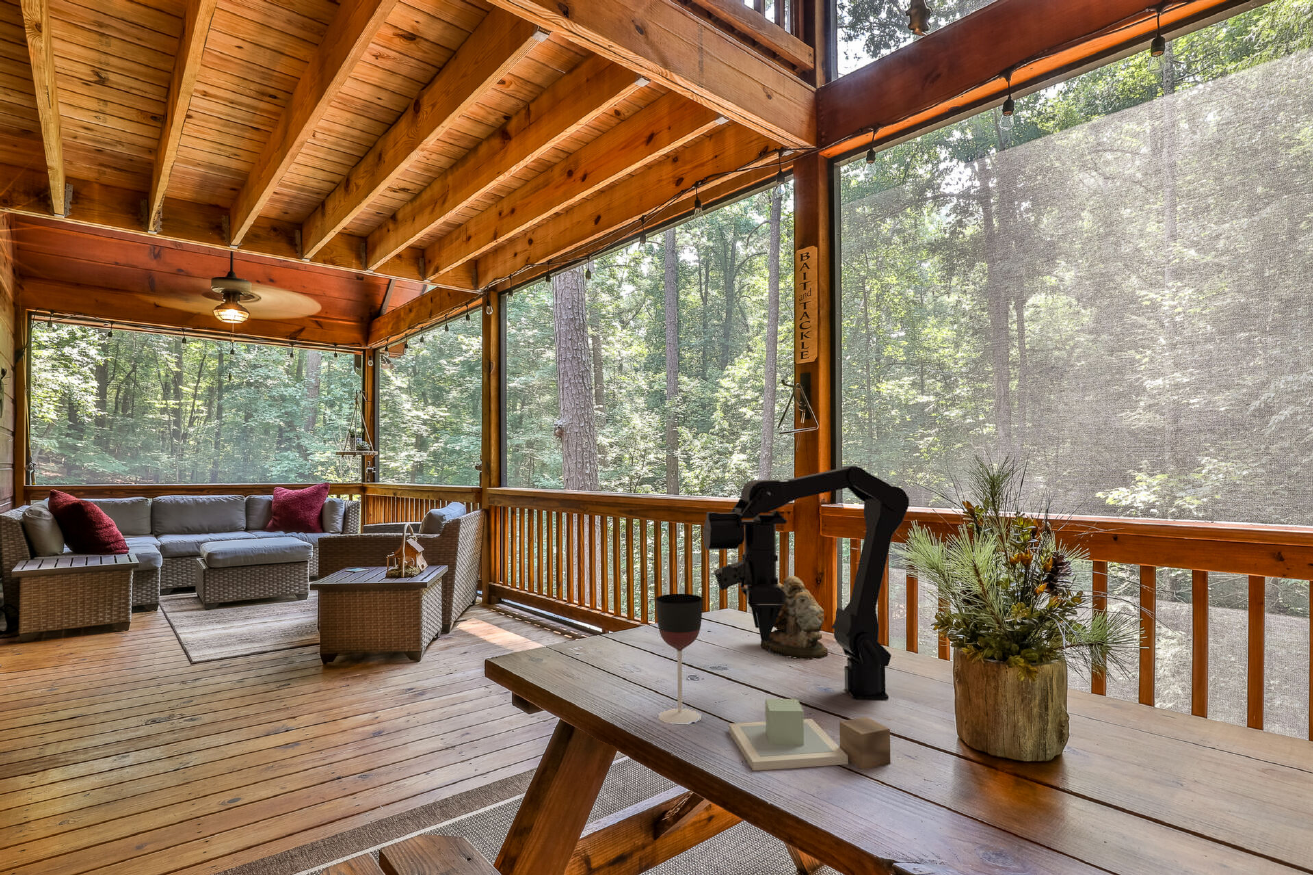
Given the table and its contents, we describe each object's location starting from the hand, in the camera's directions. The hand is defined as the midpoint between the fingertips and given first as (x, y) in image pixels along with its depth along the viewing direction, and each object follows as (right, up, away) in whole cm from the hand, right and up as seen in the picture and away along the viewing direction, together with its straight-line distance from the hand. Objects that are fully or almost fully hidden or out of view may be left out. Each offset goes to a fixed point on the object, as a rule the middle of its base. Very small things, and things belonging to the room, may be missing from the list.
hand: (761, 634), depth 121 cm
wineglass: (-15, -12, -8) cm, 21 cm away
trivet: (0, -11, -21) cm, 23 cm away
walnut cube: (+11, -11, -25) cm, 29 cm away
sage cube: (0, -10, -20) cm, 23 cm away
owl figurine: (+12, -14, +33) cm, 38 cm away
